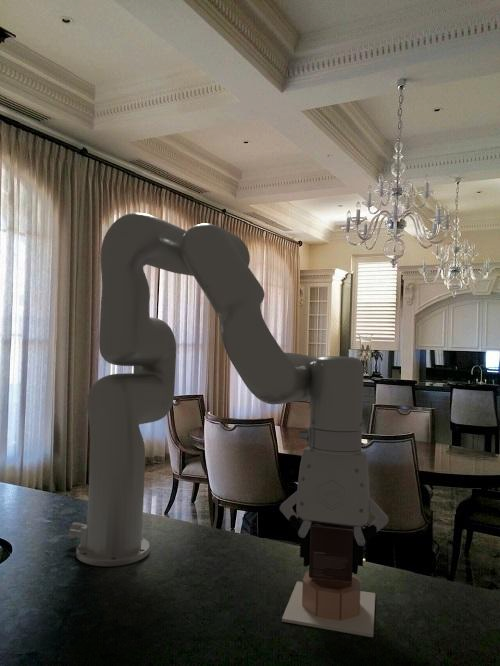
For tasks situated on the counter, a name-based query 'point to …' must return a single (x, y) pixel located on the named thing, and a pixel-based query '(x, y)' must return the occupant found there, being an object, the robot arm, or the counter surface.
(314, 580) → the bowl
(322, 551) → the box
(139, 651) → the counter surface
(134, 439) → the robot arm
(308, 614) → the placemat
